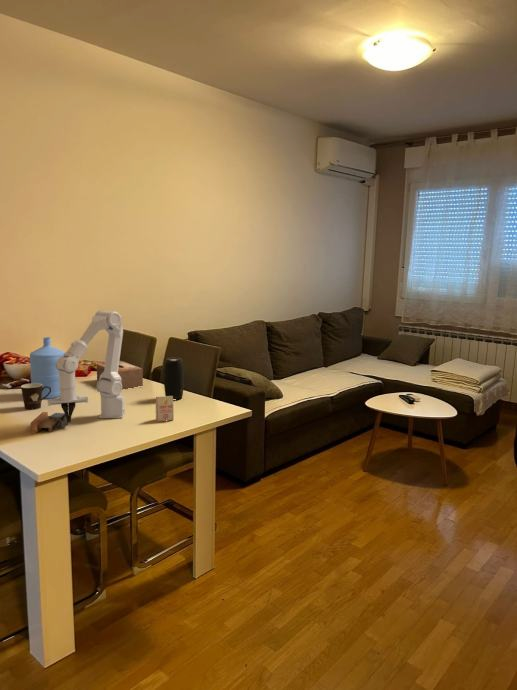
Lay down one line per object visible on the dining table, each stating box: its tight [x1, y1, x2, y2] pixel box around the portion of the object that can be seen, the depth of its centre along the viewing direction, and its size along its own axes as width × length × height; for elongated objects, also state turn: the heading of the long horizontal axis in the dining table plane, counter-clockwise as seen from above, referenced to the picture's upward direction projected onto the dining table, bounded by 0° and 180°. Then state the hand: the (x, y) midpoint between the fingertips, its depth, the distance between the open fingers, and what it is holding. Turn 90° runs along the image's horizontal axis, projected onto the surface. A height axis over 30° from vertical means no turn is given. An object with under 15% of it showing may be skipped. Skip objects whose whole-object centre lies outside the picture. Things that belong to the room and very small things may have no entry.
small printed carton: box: [155, 396, 174, 422], centre depth 204 cm, size 4×7×10 cm, turn 108°
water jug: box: [29, 336, 66, 400], centre depth 238 cm, size 16×16×28 cm
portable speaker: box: [163, 356, 185, 400], centre depth 237 cm, size 9×9×20 cm
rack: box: [30, 411, 59, 434], centre depth 193 cm, size 7×14×4 cm, turn 6°
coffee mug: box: [20, 383, 51, 411], centre depth 218 cm, size 12×9×10 cm
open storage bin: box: [48, 412, 69, 429], centre depth 194 cm, size 5×5×4 cm
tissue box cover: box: [96, 360, 144, 391], centre depth 265 cm, size 26×14×10 cm, turn 39°
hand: (68, 421), depth 193 cm, fingers closed
